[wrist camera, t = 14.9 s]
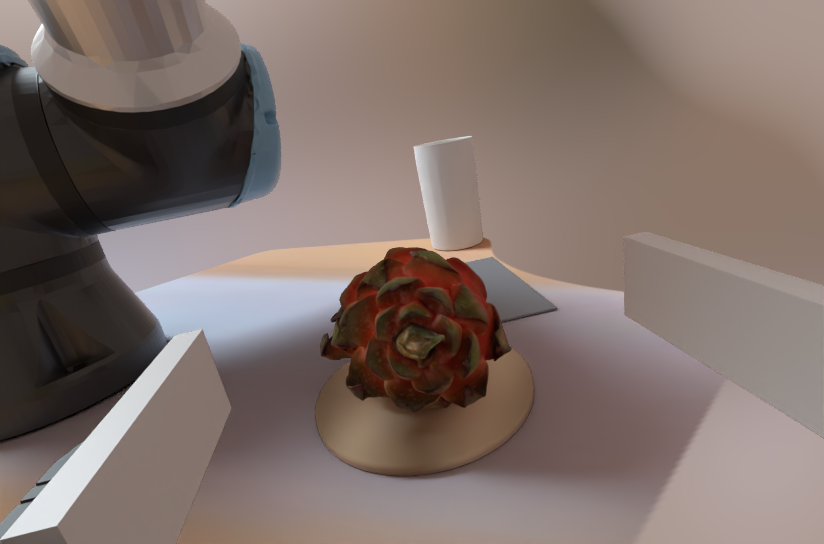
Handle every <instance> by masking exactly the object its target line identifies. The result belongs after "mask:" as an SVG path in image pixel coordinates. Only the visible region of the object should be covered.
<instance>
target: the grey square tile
mask: <svg viewBox="0 0 824 544" xmlns="http://www.w3.org/2000/svg"><path fill="white" fill-rule="evenodd" d="M465 264H467V265H468V266H469V267H470V268H471V269H472V270H473V271H474V272H475V273H476V274H477V275H478V276H479V277H480V278H481V279H482V281H483V283H484V285H485V288H486V292H487V299H486V302H489V303H491V304H493V305H494V306H495V307H496V309H497V311H498V313H499V316H500V319H501V322H505V321H509V320H513V319H517V318H522V317H526V316H530V315H535V314H539V313H543V312H547V311H552V310H556V309H557V307H556V306H555V305H553V304H552V303H551V302H549V301H548V300H547V299H546V298H544V297H543V296H542V295H540V294H539V293H538V292H537V291H535V290H534V289H533V288H531V287H530V286H529V285H528V284H526V283H525V282H524V281H523V280H521V279H520V278H519V277H517V276H516V275H515V274H514V273H512V272H511V271H510V270H508V269H507V268H506V267H505V266H503V265H502V264H501V263H499V262H498V261H497V260H496V259H494V258H493V257H490V258H485V259H481V260H476V261H472V262H467V263H465Z"/></svg>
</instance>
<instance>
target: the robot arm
mask: <svg viewBox="0 0 824 544" xmlns="http://www.w3.org/2000/svg"><path fill="white" fill-rule="evenodd" d="M28 1H29V3H30V4H31V6H32V8H33V9H34V11H35V13H36V14H37V16H38V18H39V19H40V21H41V23H42V25H41V26H40V28H39V30H38V31H37V33H36V35H35V37H34V39H33V43H32V46H31V58H32V62H33V65H34V66H32V67H28V64H27V63H26V62H25V61H23V60H22V59H21V58H20V57H19V56H18V54H16V53H15V52H14V51H12V50H11V49H9V48H7V47H5V46H2V45H0V440H3V439H7V438H10V437H13V436H17V435H20V434H23V433H26V432H29V431H31V430H34V429H37V428H40V427H42V426H45V425H47V424H50V423H52V422H55V421H57V420H60V419H62V418H64V417H67V416H69V415H71V414H73V413H76V412H78V411H80V410H82V409H84V408H86V407H88V406H90V405H92V404H94V403H96V402H98V401H100V400H102V399H104V398H105V397H107V396H109V395H111V394H113V393H114V392H116V391H118V390H119V389H121V388H123V387H124V386H126V385H127V384H129V383H131V382H132V381H134V380H135V379H136V378H138V377H139V376H140V377H139V378H138V379H137V380H136V381H135V383H134V384H133V385H132V386H131V387H130V388H129V390H128V391H127V392H126V393H125V394H124V395H123V397H122V398H121V399H120V400H119V401H118V402H117V404H116V405H115V406H114V407H113V408H112V409H111V411H110V412H109V413H108V414H107V415H106V416H105V418H104V419H103V420H102V421H101V422H100V423H99V425H98V426H97V427H96V428H95V429H94V430H93V432H92V433H91V434H90V435H89V436H88V437H87V439H86V440H85V441H84V442H83V443H80V444H78V445H77V446H76V447H75V448H73V449H72V450H71V451H69V452H68V453H67V454H65V455H64V456H63V457H62V458H60V459H59V460H58V461H56V462H55V463H54V464H53V465H52V466H51V467H50V469H49V470H48V471H47V472H46V473H45V474H44V475H43V476H42V478H41V479H40V480H39V481H38V482H37V483H36V487H33V488H32V489H31V490H30V491H29V492H28V493H27V494H26V495H25V497H24V498H23V499H22V500H21V504H20V505H17V506H16V507H15V508H14V509H13V510H12V511H11V512H10V513H9V515H8V516H7V517H6V518H5V519H4V520H3V521H2V522H1V523H0V544H176V542H177V539H178V537H179V535H180V532H181V530H182V527H183V525H184V523H185V520H186V518H187V515H188V513H189V510H190V508H191V506H192V503H193V501H194V498H195V496H196V493H197V491H198V489H199V486H200V484H201V481H202V479H203V477H204V474H205V472H206V469H207V467H208V464H209V462H210V460H211V457H212V455H213V452H214V450H215V448H216V445H217V443H218V440H219V438H220V435H221V433H222V431H223V428H224V426H225V423H226V421H227V418H228V416H229V414H230V411H231V409H232V408H231V405H230V402H229V400H228V397H227V394H226V392H225V389H224V386H223V383H222V381H221V378H220V375H219V373H218V370H217V367H216V365H215V362H214V359H213V356H212V354H211V351H210V348H209V346H208V343H207V340H206V338H205V335H204V332H203V329H201V330H196V331H191V332H187V333H182V334H178V335H175V336H174V337H173V338H172V339H171V341H170V342H169V343H167V340H166V337H165V335H164V332H163V330H162V327H161V325H160V323H159V321H158V319H157V318H156V317H155V316H154V314H153V313H152V312H151V311H150V310H149V309H148V308H147V307H146V306H145V305H144V303H143V302H142V301H141V300H140V299H139V298H138V297H137V296H136V295H135V294H134V292H133V291H132V290H131V289H130V288H129V287H128V286H127V285H126V284H125V283H124V282H123V280H122V279H121V278H120V277H119V276H118V275H117V274H116V273H115V272H114V271H113V269H112V268H111V267H110V265H109V263H108V261H107V259H106V257H105V254H104V252H103V249H102V247H101V245H100V242H99V240H98V237H97V234H101V233H105V232H110V231H115V230H119V229H124V228H129V227H134V226H139V225H144V224H149V223H153V222H158V221H163V220H169V219H174V218H179V217H183V216H188V215H193V214H198V213H203V212H208V211H213V210H218V209H222V208H232V207H235V206H237V205H239V204H240V203H243V202H246V201H250V200H253V199H257V198H260V197H263V196H266V195H268V194H269V193H270V192H271V191H272V190H273V189H274V188H275V186H276V184H277V183H278V180H279V176H280V169H281V143H280V131H279V125H278V123H277V120H276V106H275V99H274V94H273V90H272V85H271V82H270V78H269V74H268V71H267V68H266V66H265V64H264V61H263V59H262V57H261V55H260V53H259V52H258V51H257V50H256V49H255V48H254V47H252V46H250V45H244V44H241V43H240V40H239V36H238V34H237V32H236V29H235V28H234V27H233V25H232V24H231V22H230V21H229V20H228V19H227V18H226V17H225V16H223V15H222V14H221V13H219V12H218V11H217V10H215V9H214V8H212V7H211V6H209V5H208V4H206V2H205V0H28ZM623 240H624V306H625V315H626V316H628V317H629V318H631V319H632V320H634V321H636V322H637V323H639V324H640V325H642V326H644V327H645V328H647V329H649V330H650V331H652V332H653V333H655V334H657V335H658V336H660V337H661V338H663V339H665V340H666V341H668V342H669V343H671V344H673V345H674V346H676V347H678V348H679V349H681V350H682V351H684V352H686V353H687V354H689V355H690V356H692V357H694V358H695V359H697V360H698V361H700V362H702V363H703V364H705V365H707V366H708V367H710V368H711V369H713V370H715V371H716V372H718V373H719V374H721V375H723V376H724V377H726V378H727V379H729V380H731V381H732V382H734V383H736V384H737V385H739V386H740V387H742V388H744V389H745V390H747V391H749V392H750V393H752V394H753V395H755V396H757V397H758V398H760V399H761V400H763V401H765V402H766V403H768V404H769V405H771V406H773V407H774V408H776V409H778V410H779V411H781V412H782V413H784V414H786V415H787V416H789V417H790V418H792V419H794V420H795V421H797V422H799V423H800V424H802V425H803V426H805V427H806V428H808V429H810V430H811V431H813V432H815V433H816V434H818V435H820V436H821V437H823V438H824V286H823V285H820V284H817V283H814V282H810V281H807V280H804V279H800V278H797V277H794V276H790V275H787V274H784V273H780V272H777V271H774V270H771V269H767V268H764V267H761V266H757V265H754V264H751V263H748V262H744V261H741V260H738V259H734V258H731V257H728V256H724V255H721V254H718V253H715V252H711V251H708V250H704V249H701V248H698V247H695V246H692V245H688V244H685V243H681V242H678V241H675V240H672V239H668V238H665V237H662V236H659V235H655V234H652V233H648V232H642V233H637V234H633V235H628V236H624V237H623Z"/></svg>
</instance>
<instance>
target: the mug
mask: <svg viewBox="0 0 824 544" xmlns="http://www.w3.org/2000/svg"><path fill="white" fill-rule="evenodd" d="M413 148H414V152H415V159H416V165H417V170H418V175H419V181H420V186H421V191H422V196H423V201H424V207H425V212H426V218H427V223H428V227H429V232H430V238H431V243H432V247H433V248H434V249H436V250H442V251H452V250H460V249H465V248H469V247H472V246H475V245H477V244H479V243H480V242H482V240H483V233H482V223H481V212H480V203H479V193H478V183H477V174H476V163H475V154H474V146H473V137H472V136H467V137H459V138H453V139H447V140H441V141H436V142H431V143H426V144H422V145H417V146H414V147H413Z"/></svg>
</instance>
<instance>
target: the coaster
mask: <svg viewBox="0 0 824 544" xmlns="http://www.w3.org/2000/svg"><path fill="white" fill-rule="evenodd" d="M511 349H512V350H511V351H510V352H508V353H506V354H505V355H503V356H502V357H500V358H499V359H498V360H496V361H494V360H493V359H492V360H486V362H487V364H488V367H489V376H488V384H487V392H486V396H485V397H482V398H480V399H479V400H478V401H476V402H475V403H473V404H471V405H468V406H467V407H465V408H463V407H460V406H458V405H456V404H453V403H451V405H449V406H448V407H447V408H431V409H428V410H419V411H417V412H407V411H404V410H402V409H400V408H398V407H397V406H396V405H395V404H394V402H393V401H392V400H391V399H390V398H387V397H386V398H382V397H375V398H371V397H369V398H366V399H365V400H364V401H362V400H360V399H359V398H357V397H355V396H354V395H353V393H352V392H351V391H350V390H349V389H348V388H347V387H346V377H347V376H348V373H349V371H348V369H349V366H350V362H351V360H350V361H349V362H347V363H346V364H345V365H343V366H342V367H341V368H340V369H338V370H337V371H336V372H335V373H334V374H333V375H332V376H331V378H330V379H329V380H328V381H327V382H326V384H325V385H324V387H323V388H322V390H321V392H320V394H319V396H318V399H317V402H316V407H315V419H316V423H317V427H318V431H319V434H320V437H321V439H322V441H323V443H324V444H325V446H326V447H327V448H328V449H329V451H330V452H331V453H333V454H334V455H335V456H336V457H337V458H339V459H340V460H342V461H343V462H345V463H347V464H349V465H351V466H353V467H356V468H358V469H361V470H364V471H368V472H372V473H377V474H384V475H393V476H414V475H423V474H432V473H436V472H441V471H446V470H450V469H453V468H456V467H459V466H462V465H466V464H468V463H470V462H472V461H475V460H477V459H479V458H482V457H483V456H485V455H487V454H489V453H490V452H492V451H494V450H496V449H497V448H498V447H500V446H501V445H502V444H504V443H505V442H506V441H508V440H509V439H510V438H511V437H512V436H513V435H514V434H515V433H516V432H517V431H518V430H519V428H520V427H521V426H522V424H523V423H524V422H525V421H526V419H527V417H528V415H529V413H530V411H531V407H532V404H533V400H534V386H533V378H532V373H531V370H530V368H529V365H528V364H527V362H526V361H525V359H524V358H523V357H522V356H521V355H520V354H519V353H518V352H517V351H515V350H514V349H513V348H511Z"/></svg>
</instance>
